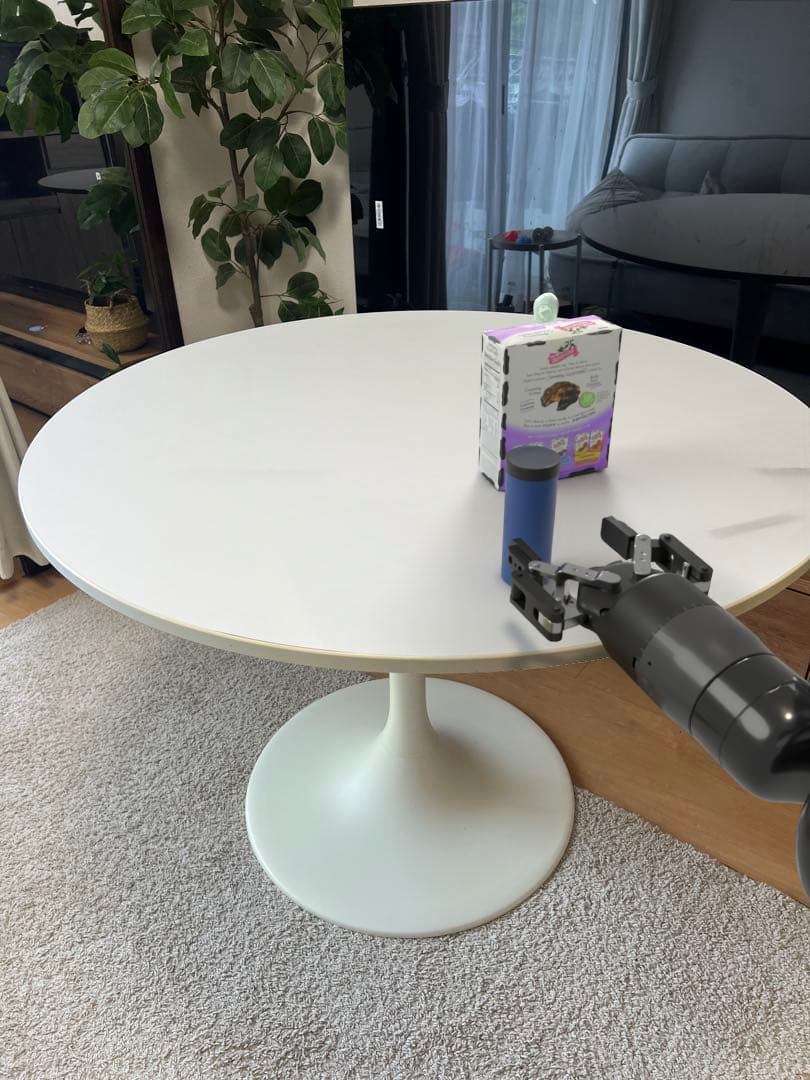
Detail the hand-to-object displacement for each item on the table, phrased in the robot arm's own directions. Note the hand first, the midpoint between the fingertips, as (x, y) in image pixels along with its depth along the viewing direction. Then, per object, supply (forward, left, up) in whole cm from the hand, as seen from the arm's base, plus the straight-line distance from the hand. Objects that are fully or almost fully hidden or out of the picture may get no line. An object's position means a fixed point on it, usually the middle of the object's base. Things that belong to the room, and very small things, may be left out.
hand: (559, 536), depth 64 cm
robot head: (-38, -68, -7) cm, 78 cm away
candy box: (-12, -23, -7) cm, 27 cm away
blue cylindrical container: (0, -5, -7) cm, 9 cm away
